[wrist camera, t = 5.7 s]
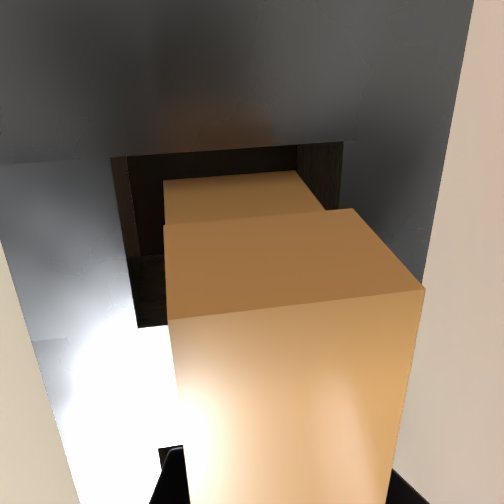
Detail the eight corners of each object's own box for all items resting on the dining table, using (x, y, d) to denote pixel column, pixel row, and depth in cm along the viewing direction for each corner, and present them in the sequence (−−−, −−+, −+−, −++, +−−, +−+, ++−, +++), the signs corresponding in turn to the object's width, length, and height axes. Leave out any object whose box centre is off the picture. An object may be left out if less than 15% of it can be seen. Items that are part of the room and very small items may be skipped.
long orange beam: (295, 144, 9) (426, 289, 5) (286, 485, 14) (346, 710, 10) (160, 153, 9) (166, 319, 4) (198, 501, 14) (221, 742, 9)
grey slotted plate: (-95, -357, 7) (-245, -566, 4) (427, -314, 8) (558, -458, 5) (133, 572, 18) (130, 667, 16) (333, 533, 20) (360, 616, 17)
